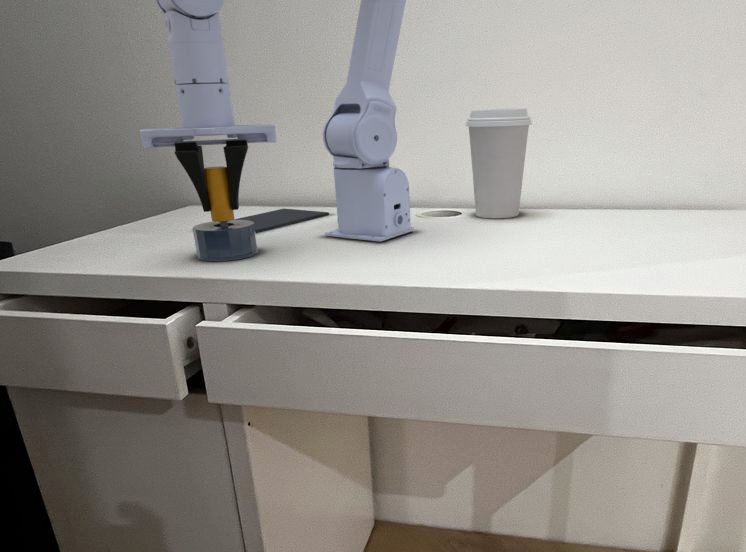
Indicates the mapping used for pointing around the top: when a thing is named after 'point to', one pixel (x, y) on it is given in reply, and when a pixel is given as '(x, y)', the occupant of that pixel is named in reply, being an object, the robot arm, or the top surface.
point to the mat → (281, 218)
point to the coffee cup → (498, 159)
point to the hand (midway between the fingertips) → (221, 209)
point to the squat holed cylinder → (225, 240)
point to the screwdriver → (219, 194)
